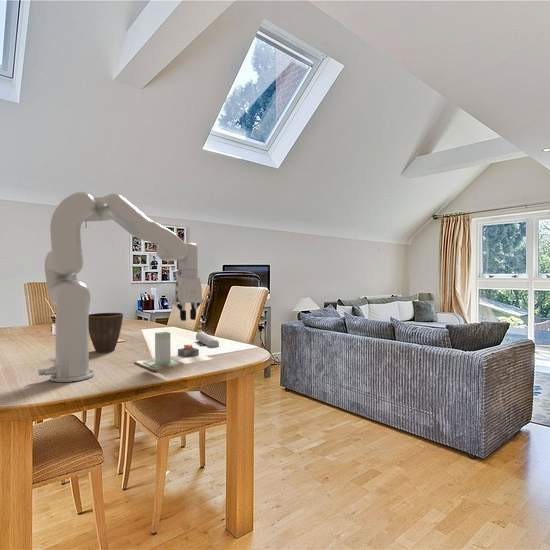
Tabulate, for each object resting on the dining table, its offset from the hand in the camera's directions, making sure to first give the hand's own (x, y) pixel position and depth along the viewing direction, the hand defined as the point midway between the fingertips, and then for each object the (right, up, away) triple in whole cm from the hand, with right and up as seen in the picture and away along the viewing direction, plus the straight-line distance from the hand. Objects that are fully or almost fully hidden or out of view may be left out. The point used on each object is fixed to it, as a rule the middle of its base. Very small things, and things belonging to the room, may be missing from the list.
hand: (188, 319), depth 155 cm
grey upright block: (-6, -14, -15) cm, 21 cm away
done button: (0, -13, 0) cm, 13 cm away
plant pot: (-39, -16, +14) cm, 45 cm away
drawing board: (-3, -15, -9) cm, 18 cm away
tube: (+3, -16, +28) cm, 32 cm away
